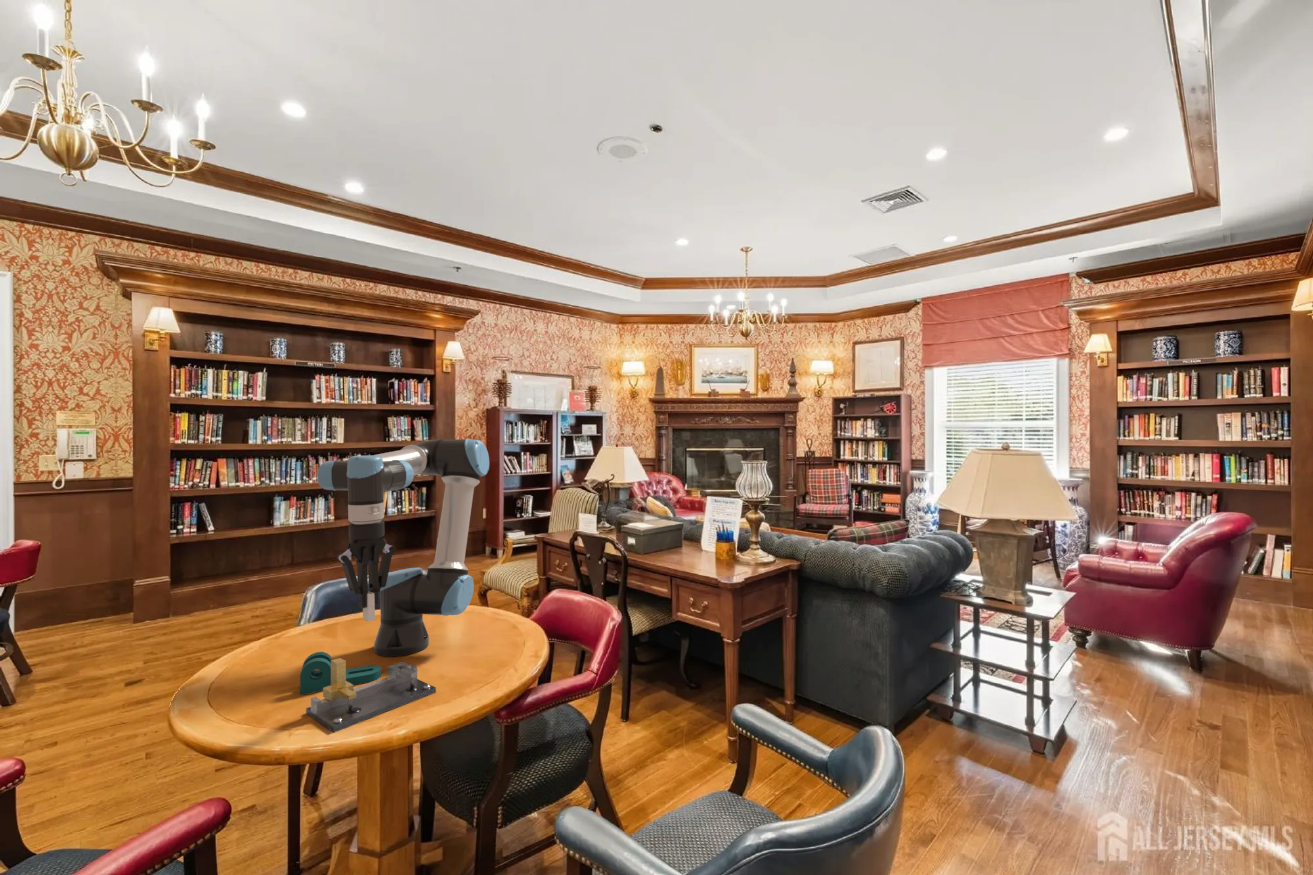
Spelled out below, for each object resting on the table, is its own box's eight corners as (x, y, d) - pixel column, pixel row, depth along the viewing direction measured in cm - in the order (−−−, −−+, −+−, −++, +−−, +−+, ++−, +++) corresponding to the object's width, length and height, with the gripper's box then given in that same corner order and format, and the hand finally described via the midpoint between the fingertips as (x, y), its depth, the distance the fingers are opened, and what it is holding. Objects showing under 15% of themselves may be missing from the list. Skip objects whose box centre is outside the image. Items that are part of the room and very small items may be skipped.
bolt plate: (306, 713, 131) (306, 705, 131) (405, 678, 150) (405, 671, 150) (333, 732, 122) (333, 723, 122) (435, 692, 141) (435, 685, 141)
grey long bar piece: (309, 710, 129) (309, 692, 129) (409, 675, 148) (409, 659, 148) (327, 722, 124) (327, 703, 124) (429, 684, 143) (429, 667, 143)
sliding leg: (323, 704, 132) (323, 661, 132) (345, 696, 136) (345, 655, 136) (341, 715, 126) (341, 671, 126) (363, 707, 130) (363, 664, 130)
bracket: (300, 695, 140) (300, 663, 140) (302, 684, 146) (302, 654, 146) (381, 681, 148) (381, 650, 148) (380, 671, 154) (380, 642, 154)
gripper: (345, 527, 127) (348, 631, 128) (401, 518, 137) (403, 615, 138) (330, 523, 131) (332, 624, 132) (385, 515, 142) (387, 609, 143)
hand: (369, 619), depth 135 cm, fingers closed
